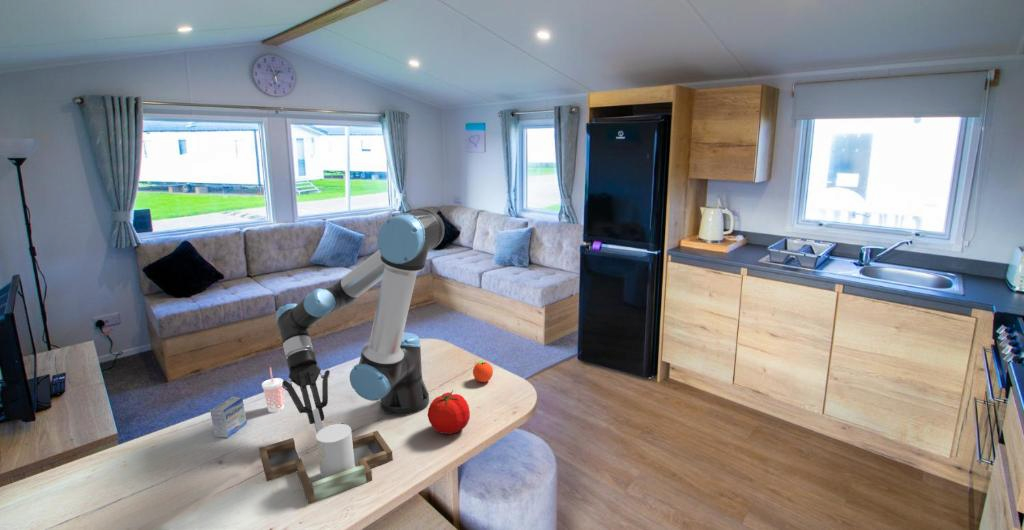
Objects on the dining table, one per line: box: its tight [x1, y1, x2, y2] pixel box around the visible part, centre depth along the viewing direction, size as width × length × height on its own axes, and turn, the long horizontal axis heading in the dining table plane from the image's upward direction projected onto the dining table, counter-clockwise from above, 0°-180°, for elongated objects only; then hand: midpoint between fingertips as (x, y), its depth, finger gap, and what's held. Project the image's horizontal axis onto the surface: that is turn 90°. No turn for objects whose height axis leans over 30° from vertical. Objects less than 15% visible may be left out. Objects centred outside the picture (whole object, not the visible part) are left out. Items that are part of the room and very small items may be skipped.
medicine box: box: [209, 396, 247, 438], centre depth 148 cm, size 8×4×9 cm, turn 168°
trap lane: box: [258, 422, 394, 504], centre depth 132 cm, size 29×26×4 cm
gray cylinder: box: [315, 423, 356, 479], centre depth 126 cm, size 8×8×12 cm
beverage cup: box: [261, 366, 285, 413], centre depth 159 cm, size 6×6×14 cm
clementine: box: [472, 360, 494, 383], centre depth 175 cm, size 8×7×7 cm
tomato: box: [427, 390, 471, 435], centre depth 145 cm, size 12×12×11 cm
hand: (320, 433), depth 137 cm, fingers closed
